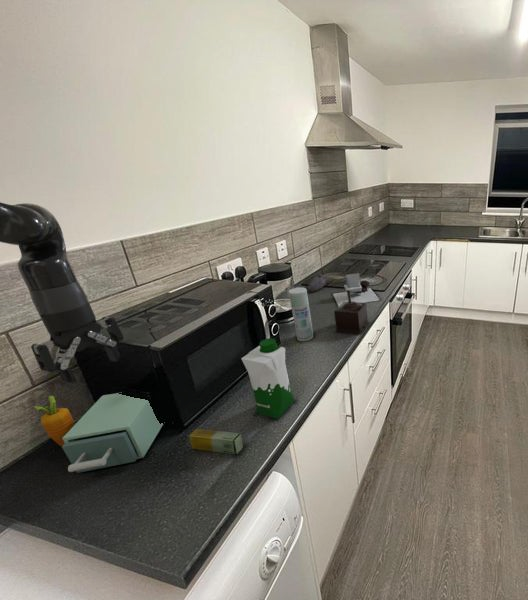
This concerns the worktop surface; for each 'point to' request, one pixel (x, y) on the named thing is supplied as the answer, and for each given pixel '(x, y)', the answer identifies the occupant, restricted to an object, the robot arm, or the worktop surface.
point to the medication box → (216, 441)
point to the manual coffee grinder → (352, 313)
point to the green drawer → (100, 451)
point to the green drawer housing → (119, 421)
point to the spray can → (301, 313)
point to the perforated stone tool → (316, 283)
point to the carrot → (56, 421)
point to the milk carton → (269, 378)
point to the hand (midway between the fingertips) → (94, 370)
